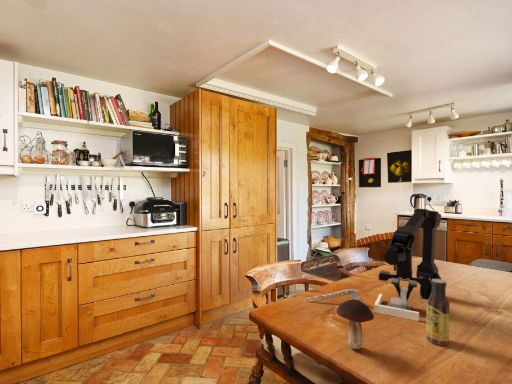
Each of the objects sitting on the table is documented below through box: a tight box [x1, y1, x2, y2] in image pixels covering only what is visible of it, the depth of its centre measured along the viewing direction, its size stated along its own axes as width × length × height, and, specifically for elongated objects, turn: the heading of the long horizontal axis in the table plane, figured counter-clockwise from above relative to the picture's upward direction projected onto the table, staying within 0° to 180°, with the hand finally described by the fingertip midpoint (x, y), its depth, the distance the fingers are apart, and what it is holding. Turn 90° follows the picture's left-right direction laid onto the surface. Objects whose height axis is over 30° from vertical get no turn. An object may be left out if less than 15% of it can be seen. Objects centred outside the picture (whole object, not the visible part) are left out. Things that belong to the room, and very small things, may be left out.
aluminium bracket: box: [389, 286, 408, 310], centre depth 117 cm, size 8×6×6 cm
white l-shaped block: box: [373, 293, 420, 322], centre depth 116 cm, size 16×15×3 cm
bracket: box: [306, 288, 363, 303], centre depth 122 cm, size 3×21×10 cm, turn 80°
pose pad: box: [386, 301, 412, 311], centre depth 116 cm, size 9×11×1 cm
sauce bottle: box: [425, 278, 450, 346], centre depth 91 cm, size 6×6×20 cm
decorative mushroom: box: [336, 298, 375, 350], centre depth 87 cm, size 11×11×15 cm
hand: (404, 299), depth 116 cm, fingers closed on aluminium bracket
